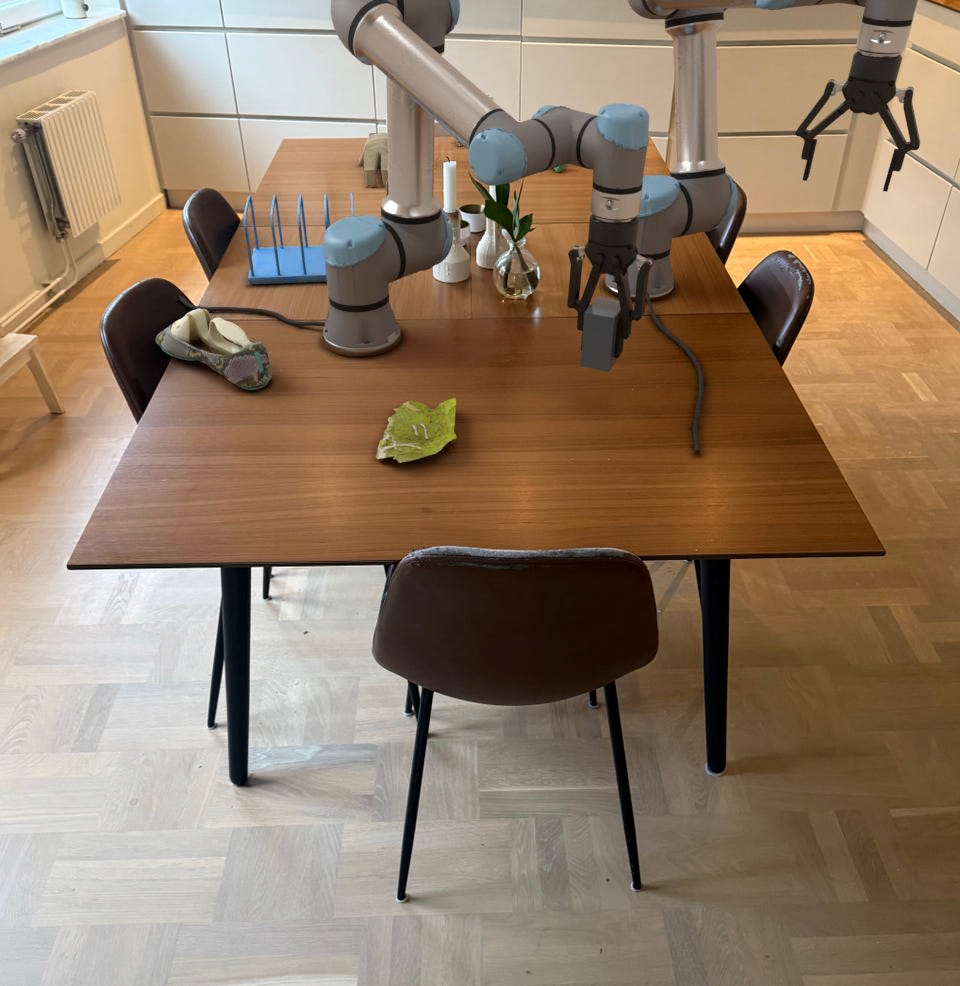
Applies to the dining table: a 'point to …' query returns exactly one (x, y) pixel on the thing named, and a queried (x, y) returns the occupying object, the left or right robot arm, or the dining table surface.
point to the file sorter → (287, 252)
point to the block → (600, 334)
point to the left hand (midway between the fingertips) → (601, 350)
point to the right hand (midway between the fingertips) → (844, 183)
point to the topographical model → (418, 431)
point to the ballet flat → (218, 348)
